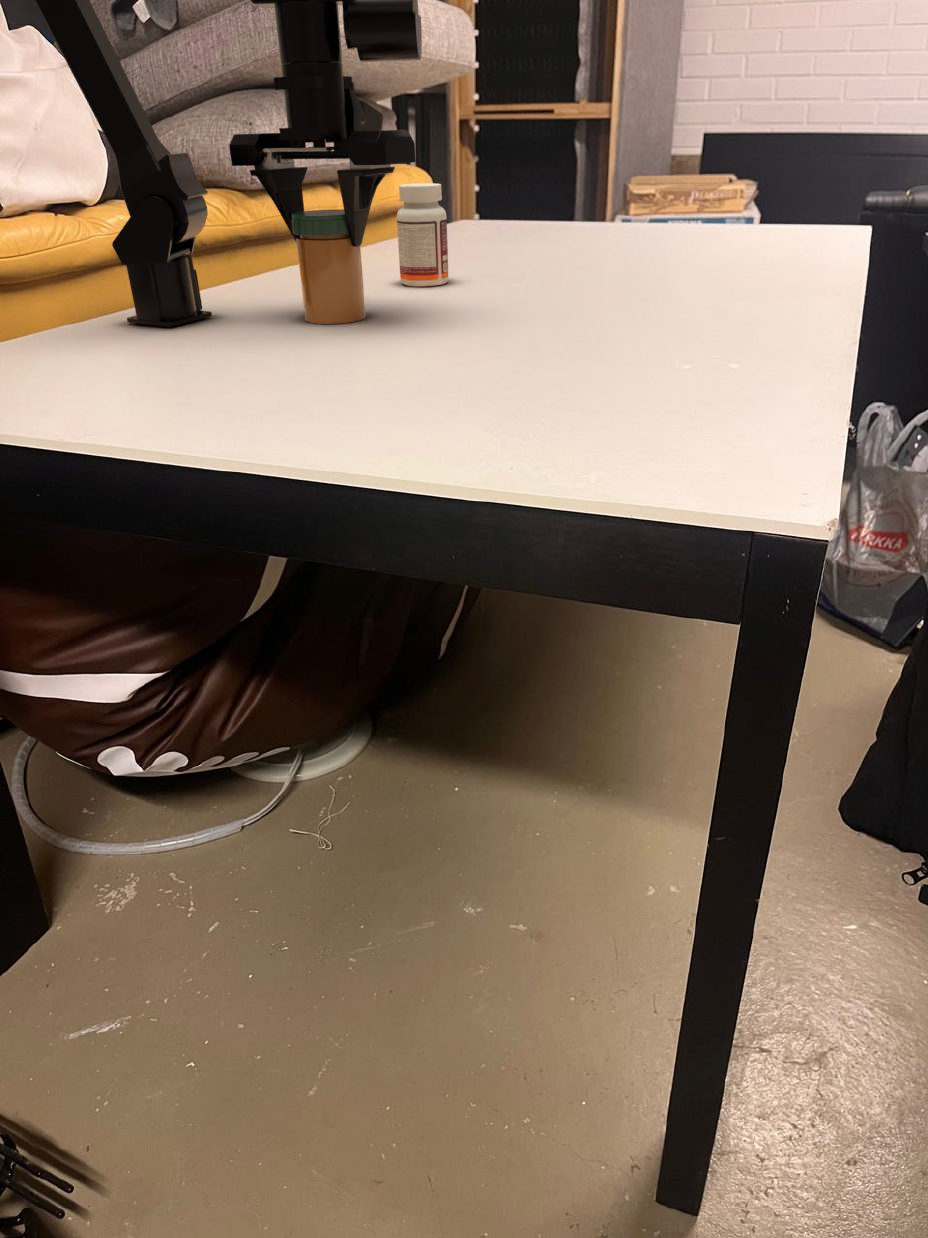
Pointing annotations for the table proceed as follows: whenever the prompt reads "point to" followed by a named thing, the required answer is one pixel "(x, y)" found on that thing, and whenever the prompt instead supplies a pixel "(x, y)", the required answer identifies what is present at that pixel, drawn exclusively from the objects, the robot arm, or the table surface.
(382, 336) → the table surface
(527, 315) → the table surface
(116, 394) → the table surface
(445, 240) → the pill bottle
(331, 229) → the jar lid
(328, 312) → the jar
